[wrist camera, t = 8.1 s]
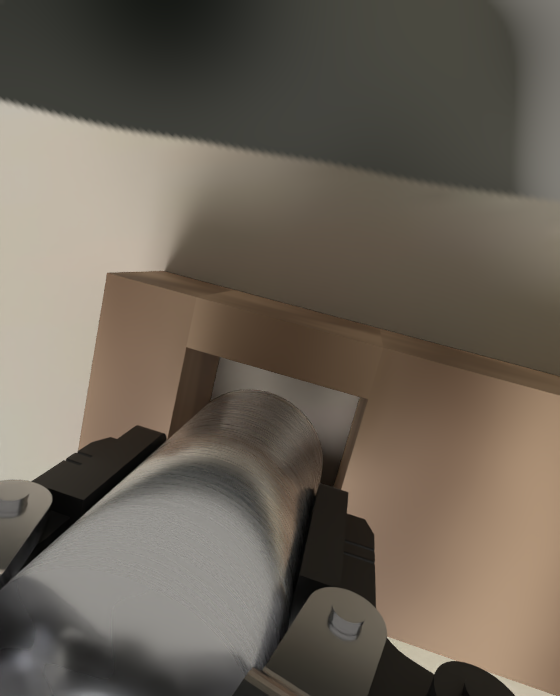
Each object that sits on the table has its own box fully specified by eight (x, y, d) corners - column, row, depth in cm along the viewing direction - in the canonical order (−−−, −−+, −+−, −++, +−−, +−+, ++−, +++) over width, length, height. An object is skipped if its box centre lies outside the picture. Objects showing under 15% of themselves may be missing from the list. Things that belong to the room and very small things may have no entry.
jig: (920, 472, 15) (1119, 547, 11) (793, 692, 16) (926, 825, 12) (163, 271, 18) (107, 272, 14) (125, 472, 20) (66, 523, 16)
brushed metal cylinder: (345, 496, 13) (314, 822, 6) (222, 538, 14) (50, 867, 7) (286, 367, 13) (165, 524, 5) (163, 419, 14) (-92, 617, 6)
